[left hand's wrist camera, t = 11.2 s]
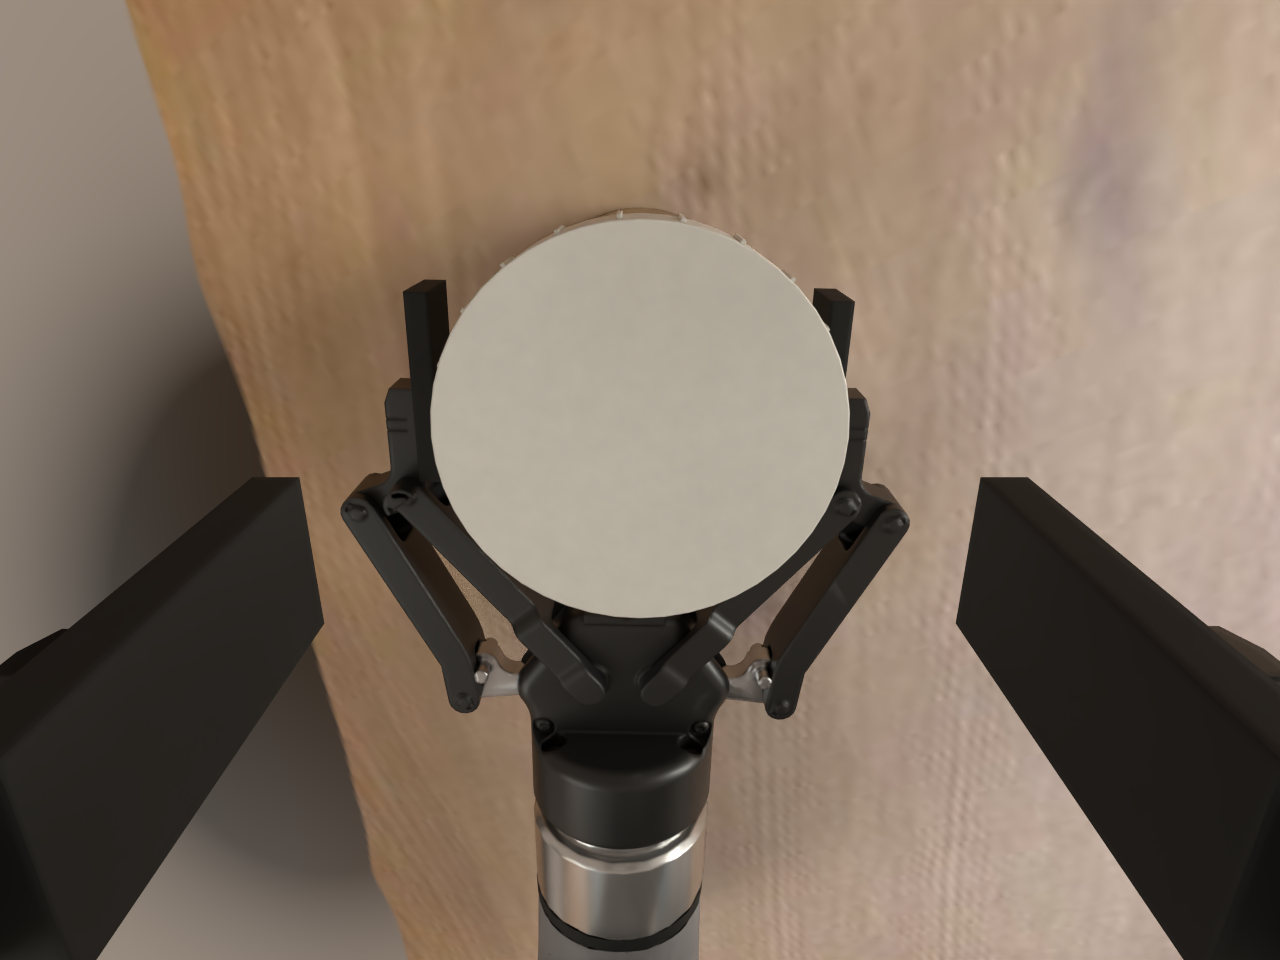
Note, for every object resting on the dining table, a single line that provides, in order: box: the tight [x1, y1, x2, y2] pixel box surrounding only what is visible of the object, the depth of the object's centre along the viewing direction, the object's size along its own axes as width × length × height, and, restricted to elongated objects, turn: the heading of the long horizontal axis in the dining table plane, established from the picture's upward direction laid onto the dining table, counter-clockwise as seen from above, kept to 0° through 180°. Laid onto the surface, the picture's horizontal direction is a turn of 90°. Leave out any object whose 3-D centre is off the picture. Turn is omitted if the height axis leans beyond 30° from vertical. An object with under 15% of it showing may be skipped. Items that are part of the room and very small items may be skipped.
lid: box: [430, 210, 850, 618], centre depth 20 cm, size 10×10×2 cm
